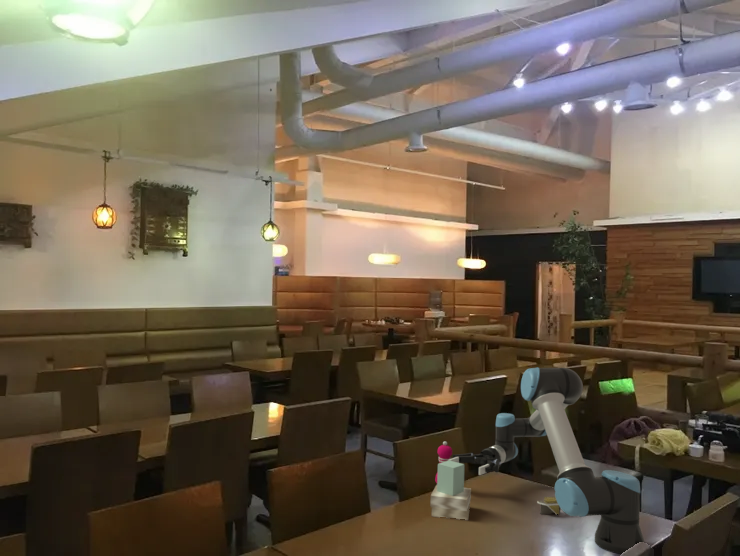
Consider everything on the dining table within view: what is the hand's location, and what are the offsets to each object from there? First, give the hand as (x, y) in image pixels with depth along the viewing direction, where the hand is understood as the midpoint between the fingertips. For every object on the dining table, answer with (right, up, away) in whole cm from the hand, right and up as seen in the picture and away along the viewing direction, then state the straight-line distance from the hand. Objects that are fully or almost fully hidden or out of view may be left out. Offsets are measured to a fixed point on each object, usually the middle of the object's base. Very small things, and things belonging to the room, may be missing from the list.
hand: (463, 467), depth 238 cm
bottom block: (-6, -15, -7) cm, 17 cm away
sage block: (-6, -7, -6) cm, 11 cm away
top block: (-6, -11, -7) cm, 14 cm away
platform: (+31, -16, -6) cm, 36 cm away
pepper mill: (-6, -15, +17) cm, 23 cm away
